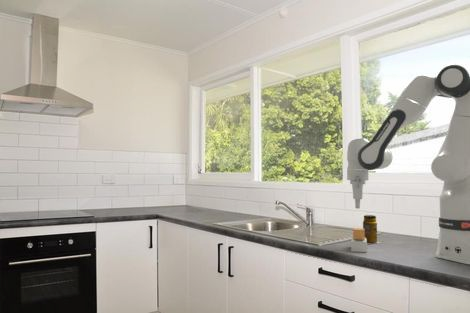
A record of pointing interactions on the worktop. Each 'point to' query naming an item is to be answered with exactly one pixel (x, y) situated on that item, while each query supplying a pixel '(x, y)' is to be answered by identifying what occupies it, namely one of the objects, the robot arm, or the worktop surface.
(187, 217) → the worktop surface
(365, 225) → the condiment
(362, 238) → the orange wooden cube
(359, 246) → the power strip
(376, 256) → the worktop surface
